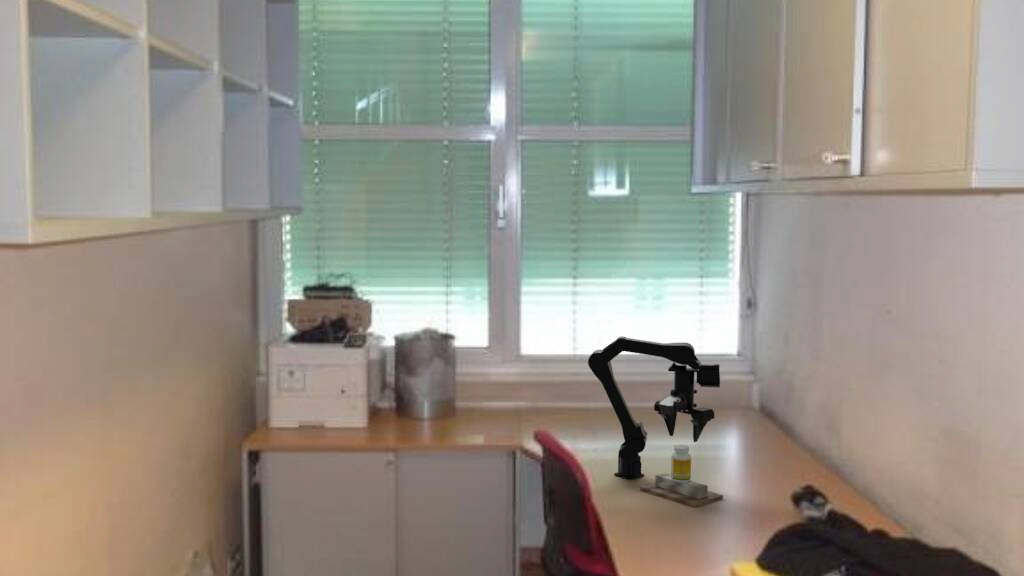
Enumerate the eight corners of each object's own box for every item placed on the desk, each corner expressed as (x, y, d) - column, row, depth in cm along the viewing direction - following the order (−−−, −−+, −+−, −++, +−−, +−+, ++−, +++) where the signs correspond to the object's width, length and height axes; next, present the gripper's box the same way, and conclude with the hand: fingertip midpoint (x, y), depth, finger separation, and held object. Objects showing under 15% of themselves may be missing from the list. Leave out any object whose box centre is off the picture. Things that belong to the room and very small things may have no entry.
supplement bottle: (668, 478, 281) (668, 444, 280) (685, 476, 282) (686, 443, 281) (675, 483, 276) (676, 449, 275) (693, 482, 277) (694, 448, 276)
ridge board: (639, 490, 283) (639, 476, 283) (668, 482, 291) (668, 468, 290) (694, 507, 268) (694, 492, 267) (723, 498, 275) (723, 484, 275)
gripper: (641, 384, 294) (640, 437, 296) (690, 394, 280) (689, 449, 281) (667, 380, 301) (666, 431, 303) (716, 389, 287) (715, 443, 288)
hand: (683, 438), depth 293 cm, fingers open, 9 cm apart
